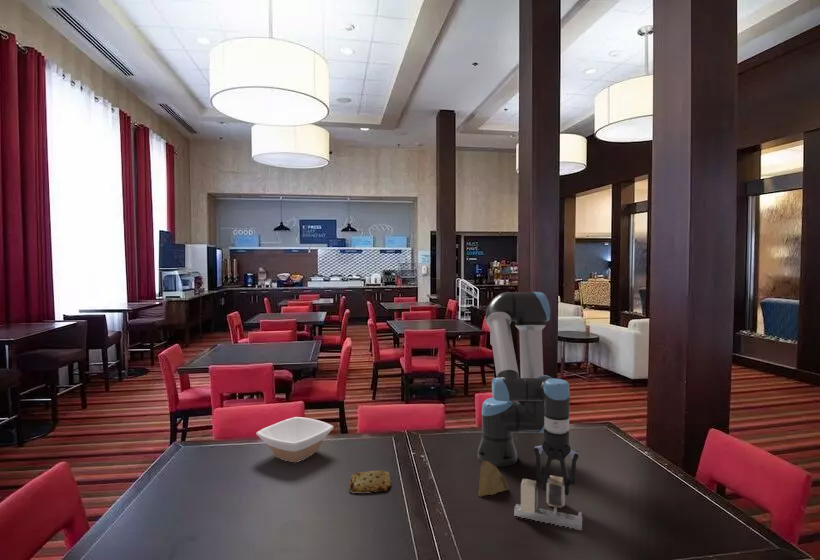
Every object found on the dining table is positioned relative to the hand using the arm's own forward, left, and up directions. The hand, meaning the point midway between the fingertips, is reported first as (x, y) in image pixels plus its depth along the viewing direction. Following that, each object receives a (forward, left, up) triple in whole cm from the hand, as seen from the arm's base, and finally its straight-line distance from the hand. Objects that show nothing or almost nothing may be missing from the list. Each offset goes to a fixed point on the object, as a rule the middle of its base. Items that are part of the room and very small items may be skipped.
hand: (555, 502), depth 144 cm
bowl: (-99, +1, -1) cm, 99 cm away
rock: (-20, +1, -1) cm, 20 cm away
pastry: (-61, -9, -1) cm, 62 cm away
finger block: (0, 0, 0) cm, 0 cm away
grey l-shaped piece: (-1, -10, -1) cm, 10 cm away
